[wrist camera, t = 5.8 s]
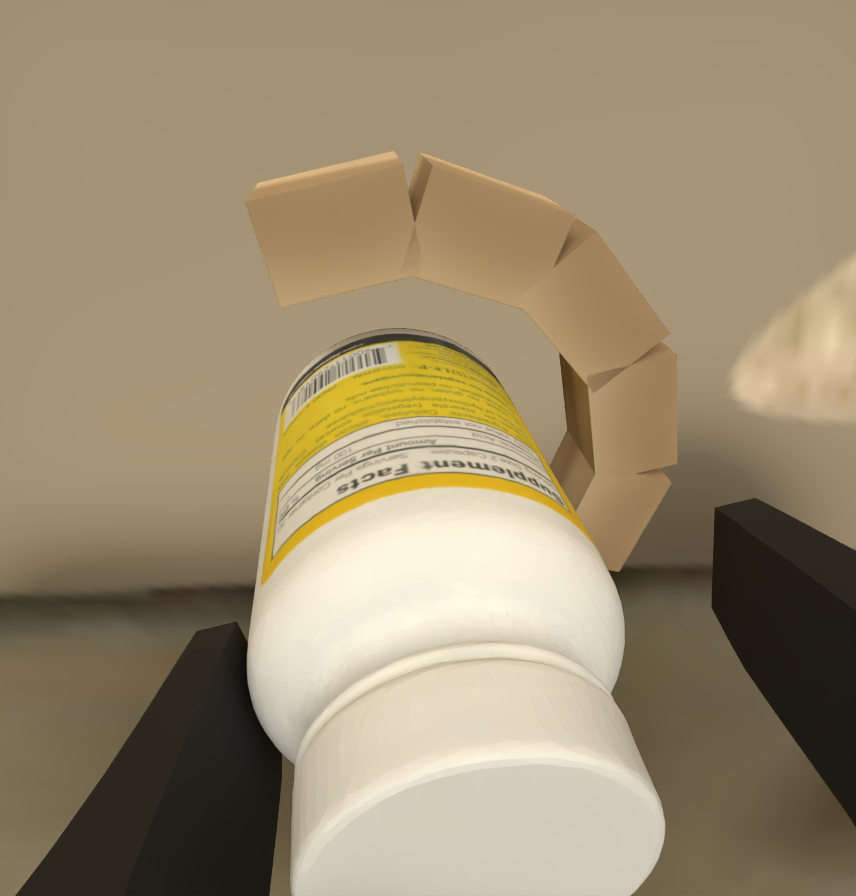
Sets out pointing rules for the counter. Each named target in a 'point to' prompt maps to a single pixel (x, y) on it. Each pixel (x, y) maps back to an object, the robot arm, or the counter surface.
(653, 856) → the supplement bottle
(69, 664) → the counter surface
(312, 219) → the oak collar
